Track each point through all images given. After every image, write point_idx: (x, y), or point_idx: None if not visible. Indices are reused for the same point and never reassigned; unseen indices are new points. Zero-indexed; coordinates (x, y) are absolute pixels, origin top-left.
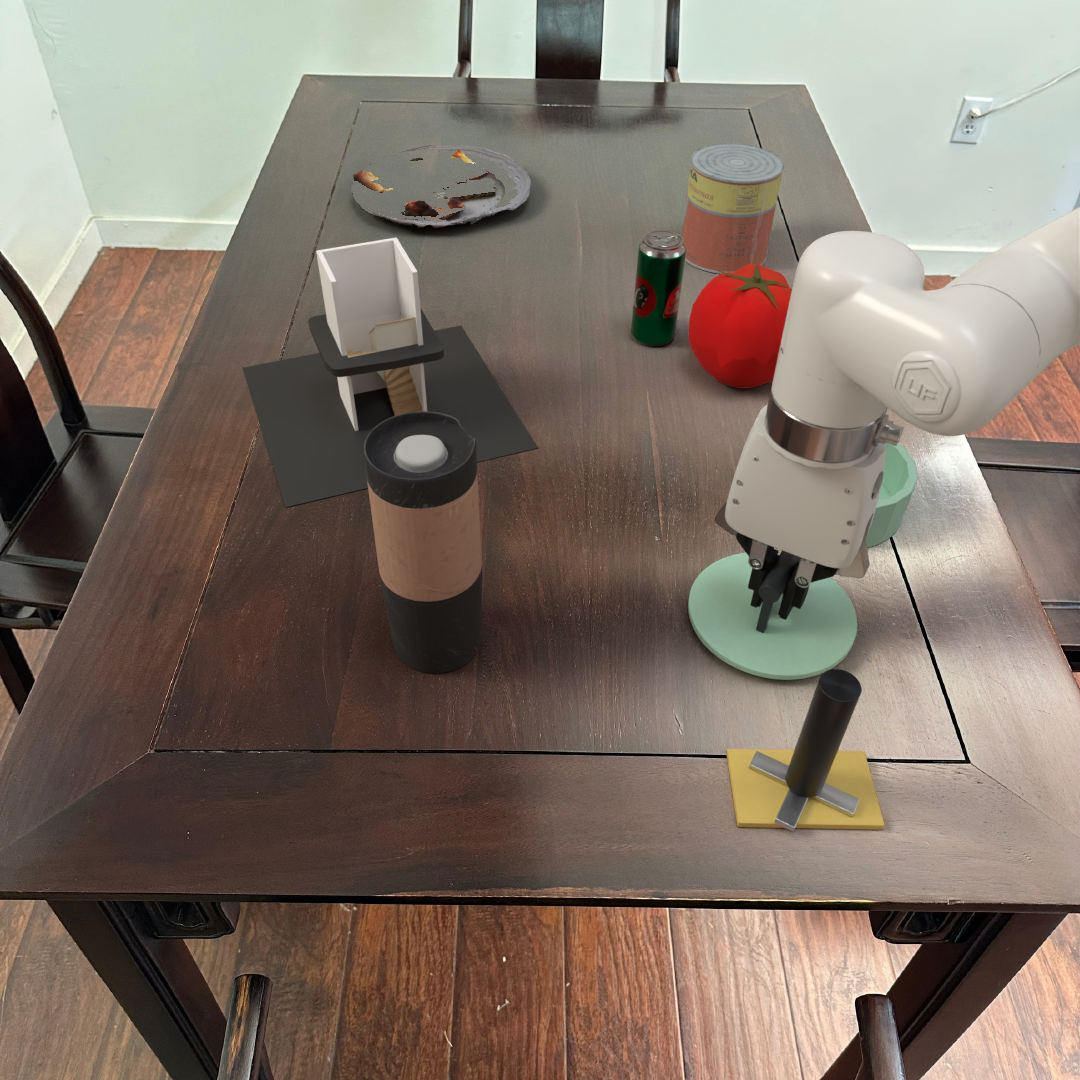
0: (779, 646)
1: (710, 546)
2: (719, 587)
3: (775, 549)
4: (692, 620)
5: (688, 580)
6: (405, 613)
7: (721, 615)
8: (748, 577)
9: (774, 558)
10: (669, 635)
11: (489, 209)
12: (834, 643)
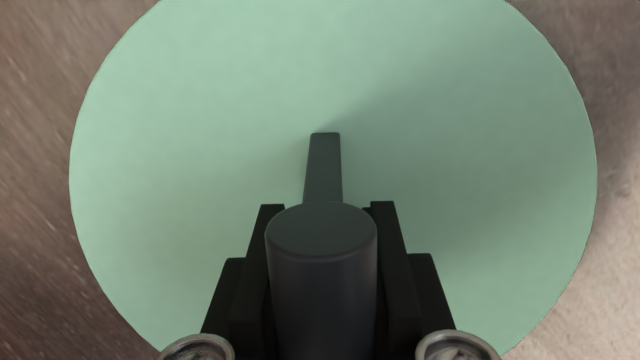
0: None
1: (5, 16)
2: (154, 237)
3: (241, 316)
4: None
5: (65, 194)
6: None
7: None
8: (201, 152)
9: (266, 355)
10: (153, 357)
11: None
12: (537, 258)
